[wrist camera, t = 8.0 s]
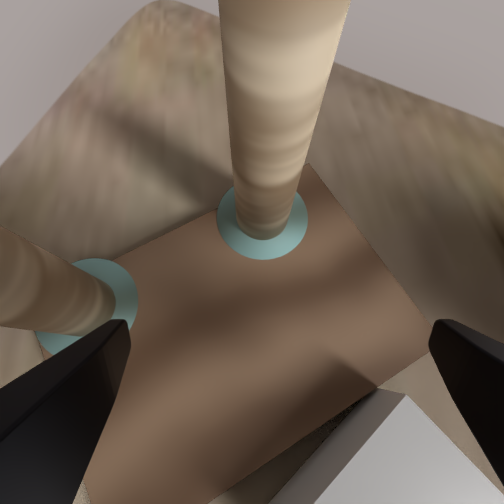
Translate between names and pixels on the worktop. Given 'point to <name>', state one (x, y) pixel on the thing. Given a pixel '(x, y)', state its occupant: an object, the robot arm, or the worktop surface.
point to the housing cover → (388, 461)
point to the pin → (48, 291)
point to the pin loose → (274, 98)
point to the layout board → (241, 346)
